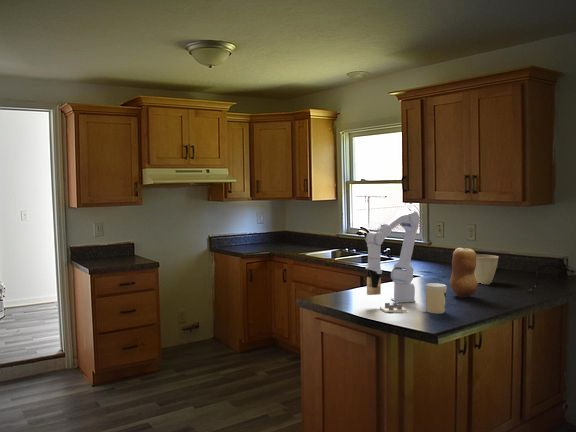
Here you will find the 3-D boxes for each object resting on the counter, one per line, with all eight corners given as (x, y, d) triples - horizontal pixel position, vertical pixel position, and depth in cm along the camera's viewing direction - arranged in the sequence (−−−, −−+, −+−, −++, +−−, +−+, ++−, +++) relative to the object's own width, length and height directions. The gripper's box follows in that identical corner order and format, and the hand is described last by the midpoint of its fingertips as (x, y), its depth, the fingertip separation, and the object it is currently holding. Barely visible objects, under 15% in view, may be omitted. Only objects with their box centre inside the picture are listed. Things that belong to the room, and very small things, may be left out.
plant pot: (501, 286, 297) (501, 258, 296) (473, 285, 299) (474, 257, 298) (494, 281, 312) (494, 254, 311) (468, 280, 314) (468, 254, 313)
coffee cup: (449, 313, 232) (450, 286, 231) (428, 314, 231) (429, 287, 230) (441, 308, 241) (442, 282, 240) (421, 309, 240) (422, 283, 240)
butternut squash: (482, 299, 260) (483, 249, 259) (456, 300, 258) (457, 250, 257) (468, 294, 274) (469, 246, 273) (443, 294, 272) (445, 246, 271)
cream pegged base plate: (400, 308, 242) (400, 301, 241) (406, 311, 235) (407, 305, 235) (379, 309, 240) (380, 302, 239) (385, 312, 233) (386, 306, 233)
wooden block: (378, 293, 246) (379, 276, 246) (380, 294, 244) (380, 277, 244) (366, 294, 245) (366, 277, 244) (368, 295, 243) (368, 277, 242)
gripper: (360, 255, 250) (360, 284, 250) (371, 260, 236) (371, 290, 236) (374, 255, 251) (374, 283, 252) (386, 259, 237) (386, 289, 238)
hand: (373, 286), depth 244 cm, fingers closed on wooden block, 2 cm apart
